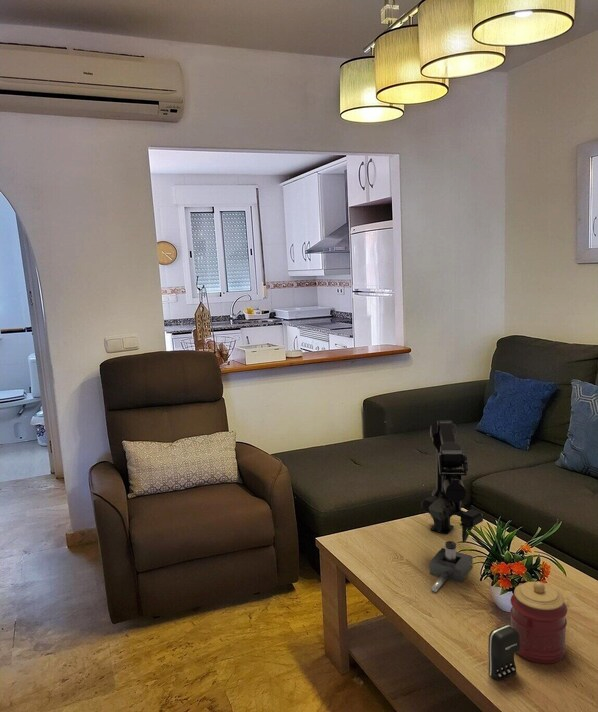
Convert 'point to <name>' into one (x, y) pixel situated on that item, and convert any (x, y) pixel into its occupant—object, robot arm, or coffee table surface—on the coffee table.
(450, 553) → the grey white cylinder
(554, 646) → the canister
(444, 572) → the chuck block
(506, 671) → the battery charger
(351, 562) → the coffee table surface
